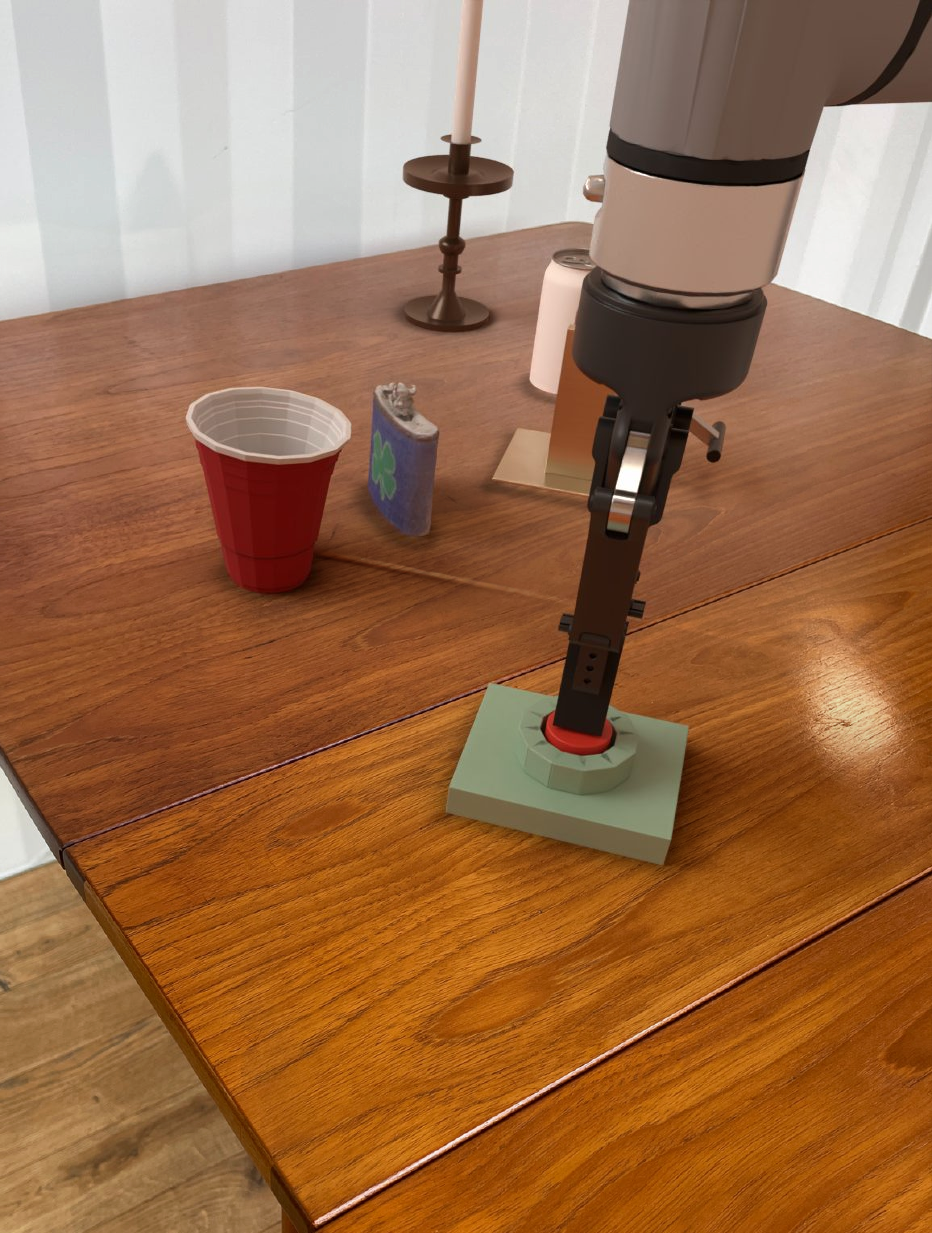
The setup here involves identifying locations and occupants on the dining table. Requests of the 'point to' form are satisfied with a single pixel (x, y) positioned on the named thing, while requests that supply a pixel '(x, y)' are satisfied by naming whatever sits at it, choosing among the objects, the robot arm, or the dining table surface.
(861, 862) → the dining table surface
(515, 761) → the button block
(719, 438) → the lever
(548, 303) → the can
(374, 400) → the flask
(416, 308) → the candlestick
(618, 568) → the robot arm
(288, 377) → the dining table surface
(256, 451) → the plastic cup
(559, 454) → the bracket
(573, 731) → the button
